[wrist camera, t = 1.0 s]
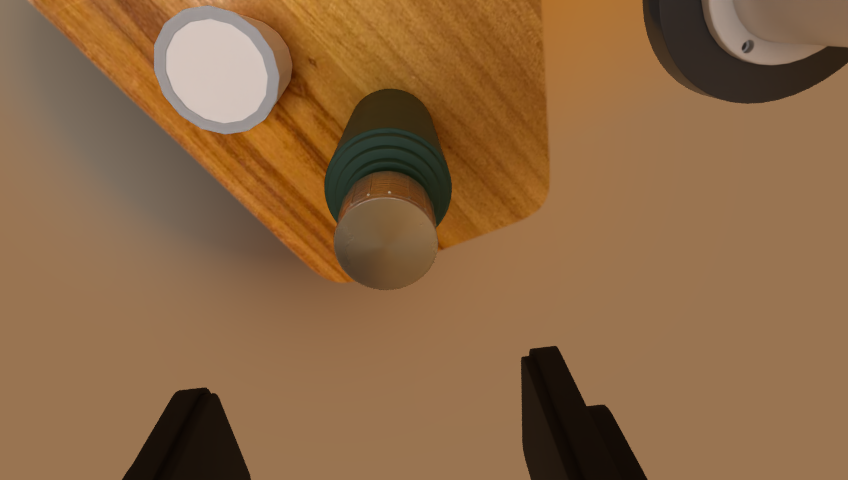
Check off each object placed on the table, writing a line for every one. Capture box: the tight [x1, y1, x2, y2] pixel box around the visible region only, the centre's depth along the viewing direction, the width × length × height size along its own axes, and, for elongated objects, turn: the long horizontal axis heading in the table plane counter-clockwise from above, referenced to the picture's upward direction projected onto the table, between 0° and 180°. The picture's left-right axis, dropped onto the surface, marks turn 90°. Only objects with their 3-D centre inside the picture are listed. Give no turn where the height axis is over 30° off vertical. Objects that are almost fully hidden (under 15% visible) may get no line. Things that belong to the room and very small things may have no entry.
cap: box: [334, 171, 438, 290], centre depth 19 cm, size 4×4×3 cm
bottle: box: [325, 89, 452, 227], centre depth 27 cm, size 6×6×19 cm
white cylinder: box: [154, 5, 293, 134], centre depth 29 cm, size 7×7×7 cm
